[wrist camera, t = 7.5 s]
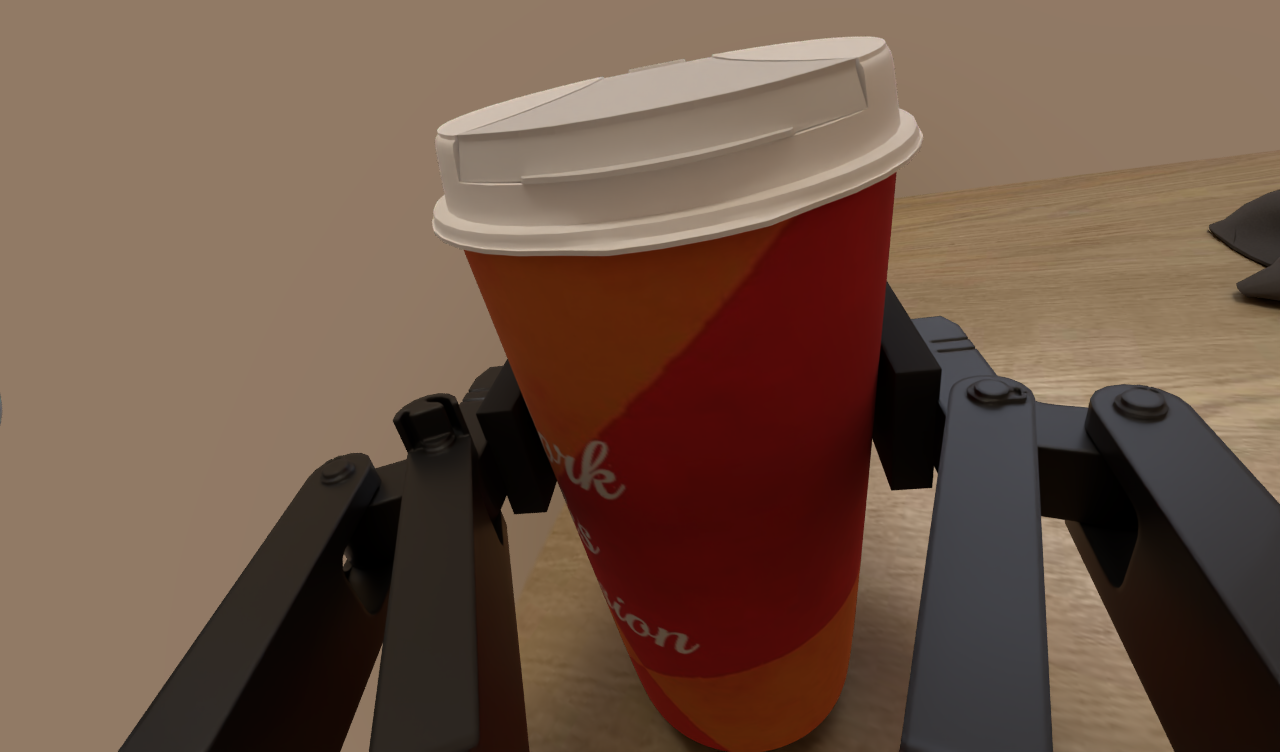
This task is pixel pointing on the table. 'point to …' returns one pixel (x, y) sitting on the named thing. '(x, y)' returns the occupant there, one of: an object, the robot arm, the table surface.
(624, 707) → the table surface
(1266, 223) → the cloth
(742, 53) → the coffee cup
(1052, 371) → the table surface
